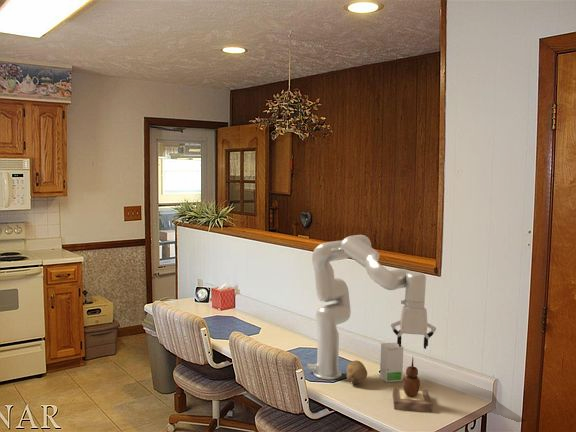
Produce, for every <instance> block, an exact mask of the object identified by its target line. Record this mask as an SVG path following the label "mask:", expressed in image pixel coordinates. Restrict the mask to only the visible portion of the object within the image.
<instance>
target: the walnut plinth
mask: <svg viewBox="0 0 576 432" xmlns="http://www.w3.org/2000/svg"><path fill="white" fill-rule="evenodd" d="M392 401H393V403H392V404H393V409H394V410H402V411H403V410H404V411H417V412H429V413H432V408H433V404H432V400H431V397H430V393H429V389H420V388H419V391H418V394H417V395H416V396H412V397H411V396H407V395H406V394H405V392H404V389H403V387H392Z"/></svg>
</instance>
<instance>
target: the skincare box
mask: <svg viewBox="0 0 576 432" xmlns="http://www.w3.org/2000/svg"><path fill="white" fill-rule="evenodd" d="M380 346H381V347H380V362H379V363H380V366H379V378H380V379H381V380H382V381H384V382H385V383H395V382H402V381H403V367H404V365H403V363H404V345H402V344H401V347H399V344H397V342H385V343H383V342H382V343H380Z"/></svg>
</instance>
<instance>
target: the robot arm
mask: <svg viewBox="0 0 576 432" xmlns="http://www.w3.org/2000/svg"><path fill="white" fill-rule="evenodd" d="M311 257H312V258H311V260H312V266H313V270H314V279H315V288H316V289H315V291H316V296H317V298H318V300H319V301H320V302H322V303H329V302H331V303H329V304H326V305H323V306H321V307H319V308H318V309H317V311H316V313H315V319H316V320H315V322H316V328H317V350H316V351H317V353H316V354H317V355H316V357H317V358H316V363H314V364H313V363H307V366H306V369H309V370H310V371H313V376H314V377H316V378H318V379H321V380H336V379H339V378H341V377H342V373H343V372H342V371H341V370H340V369H339V355H340V352H339V351H340V336H339V331H338V329H337V326H338V325H340V324H343V323H346V322H347V321H349V319H350V317H351V313H352V312H351V303H350V302H351V301H350V300H351V299H350V292H349V287H348V285H347V283H346V281H344V280H343V279H341V278H335V270H334V269H333V266H332V264H331V263H330V262H334V261H341V260H346V259H349V258H350V259H353V260H354V261H355V262H357V263H358V264H359V265H360V266H362V267H363V268H364V269H365V270H366V273H367V274H368V276H369V277H370V279H371V280H372V281H373V282H375V283H376V284H378V286H380V287H382V288H383V289H385V290H388V291H394V290H395V291H396V290H399V289H403V288H405V295H404V299H403V300H401V299H400V304H401V305H403V306H402V309H401V314H400V320H398V321H395V322H393V323H391V324H390V327H391V329H392V332H393V333H394V334H395V335H396V337H397V341H396V343H397V344H399V347H401V345H402V335H403V334H406V335H407V334H408V335H422V336H423V349H425V350H427V347H429V339H430V338H431V337H432V336H433V335H434V334H435V332H437V327H436V326H434V325H433V324H430V323H429V322H428V312H427V308H426V307H425V305H426V304H425V303H426V302H425V300H426V287H427V285H426V284H427V277H426V274H425V273H422V272H419V271H418V272H417V271H411V270H408V269H405V268H398V269H392V270H389V269H388V268H386V267H385V266H383V265H382V264H381V263H380V262H379V260H380V253H379V251H377V250H376V249H374V248H373V247H372V241H371V240H370V238H369V237H368V236H366V235H365V234H364V235H363V234H356V235H355V234H354V235H349V236H346V237H345V238H343V239H341V240H335V241H326V242H323V243H320V244H318V245H317V246H316V247H315V248H314V249H313V252H312V255H311ZM397 326H399V330H398V329H397V328H396V327H397ZM428 328H429V329H430V331H429V332H428Z"/></svg>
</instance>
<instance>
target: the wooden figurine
mask: <svg viewBox="0 0 576 432" xmlns="http://www.w3.org/2000/svg"><path fill="white" fill-rule="evenodd" d="M418 374H419V370H418V368H417V367H416V366H414V357H412V360H411V365H410V366H407V367H406V369H405V375H406V376H405V378H404V379H403V382H402V388H403V389H404V392H405V394H406V395H407V396H411V397H412V396H416V395H417V394H418V391H419V389H420V387H421V381H420V378H419V377H418Z"/></svg>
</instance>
